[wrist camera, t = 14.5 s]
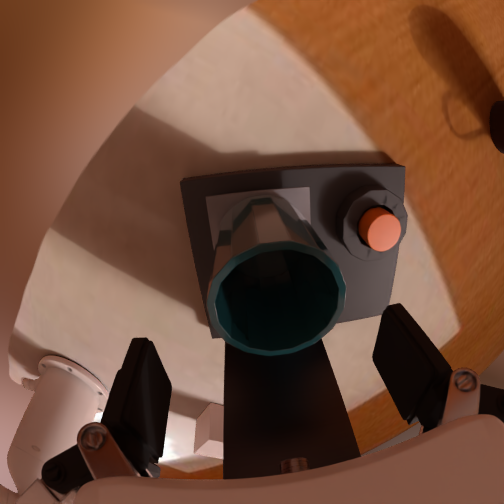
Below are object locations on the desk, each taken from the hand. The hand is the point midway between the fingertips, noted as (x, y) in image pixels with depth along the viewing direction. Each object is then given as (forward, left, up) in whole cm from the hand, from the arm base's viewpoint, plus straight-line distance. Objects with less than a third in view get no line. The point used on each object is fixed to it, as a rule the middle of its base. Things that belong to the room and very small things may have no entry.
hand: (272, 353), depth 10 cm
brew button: (+10, 0, -11) cm, 15 cm away
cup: (+1, 0, -10) cm, 10 cm away
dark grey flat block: (+4, -3, -14) cm, 14 cm away
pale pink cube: (-7, -28, -14) cm, 32 cm away
